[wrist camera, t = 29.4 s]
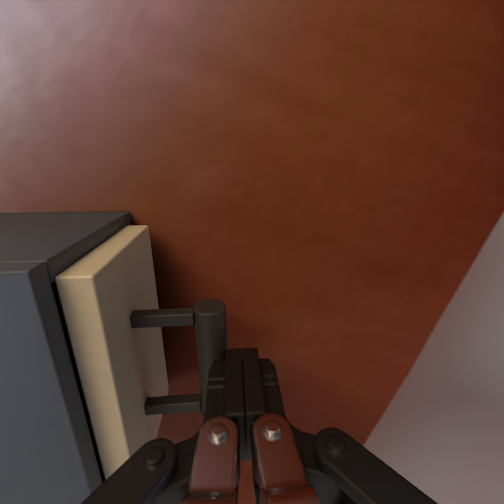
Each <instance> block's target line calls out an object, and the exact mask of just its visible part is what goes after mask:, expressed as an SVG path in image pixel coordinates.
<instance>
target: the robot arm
mask: <svg viewBox="0 0 504 504" xmlns="http://www.w3.org/2000/svg"><path fill="white" fill-rule="evenodd" d="M245 447H246V460H252V470H253V490H254V497H255V504H437V503H436V502H435V501H434V500H432V499H431V498H430V497H428V496H427V495H425V494H424V493H423V492H422V491H421V490H419V489H418V488H417V487H415V486H414V485H413V484H411V483H410V482H409V481H407V480H406V479H405V478H404V477H402V476H401V475H399V474H398V473H397V472H396V471H394V470H393V469H392V468H391V467H389V466H388V465H386V464H385V463H384V462H383V461H381V460H380V459H379V458H377V457H376V456H375V455H374V454H372V453H371V452H369V451H368V450H367V449H366V448H365V447H363V446H362V445H361V444H359V443H358V442H357V441H355V440H354V439H353V438H352V437H350V436H349V435H348V434H346V433H345V432H343V431H341V430H339V429H336V428H325V429H322V430H321V431H319V432H318V434H317V435H313V434H309V433H305V432H302V431H300V430H298V429H296V428H294V427H293V426H292V425H291V424H290V423H289V421H288V420H287V418H286V416H285V412H284V407H283V403H282V398H281V393H280V388H279V385H278V379H277V374H276V369H275V366H274V365H273V363H272V362H271V361H270V360H269V359H259V358H258V351H257V348H242V362H241V349H226V350H225V361H214V362H213V364H212V366H211V367H210V369H209V373H208V383H207V393H206V404H205V414H204V422H203V425H202V427H201V428H200V430H199V431H198V432H197V433H196V434H195V435H194V436H193V437H191V438H190V439H188V440H186V441H183V442H180V443H178V444H175V445H174V444H173V443H172V442H171V441H169V440H167V439H164V438H157V439H153V440H150V441H148V442H147V443H145V444H144V445H142V446H141V447H140V448H139V449H138V450H137V451H136V452H135V453H134V454H133V455H132V456H131V457H130V458H128V459H127V460H126V461H125V462H124V463H123V464H122V465H121V466H120V467H119V468H118V469H117V470H116V471H115V472H114V473H113V474H112V475H110V476H109V477H108V478H107V479H106V480H105V481H104V482H103V483H102V484H101V485H100V486H99V487H98V488H97V489H96V490H95V491H93V492H92V493H91V494H90V495H89V496H88V497H87V498H86V499H85V500H84V501H83V502H82V503H81V504H238V488H239V480H240V461H244V460H245Z"/></svg>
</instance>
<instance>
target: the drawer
mask: <svg viewBox="0 0 504 504" xmlns="http://www.w3.org/2000/svg"><path fill="white" fill-rule="evenodd" d="M51 286H52V290H53V294H54V298H55V301H56V305H57V309H58V313H59V317H60V321H61V325H62V328H63V332H64V336H65V340H66V344H67V348H68V352H69V356H70V359H71V363H72V367H73V371H74V375H75V379H76V383H77V386H78V390H79V394H80V398H81V402H82V406H83V410H84V413H85V417H86V421H87V425H88V429H89V433H90V437H91V441H92V444H93V448H94V452H95V456H96V460H97V457H98V455H99V456H100V460H101V464H102V468H103V472H104V476H105V480H106V479H107V478H108V477H109V476H110V475H112V474H113V473H114V472H115V471H116V470H117V469H118V468H119V467H120V466H121V465H122V464H123V463H124V462H125V461H126V460H127V459H128V458H130V457H131V456H132V455H133V454H134V453H135V452H136V451H137V450H138V449H139V448H140V447H141V446H142V445H144V444H145V443H147V442H148V441H150V440H153V439H157V435H158V430H159V426H160V422H161V418H162V414H171V413H186V412H200V411H201V409H202V414H203V415H204V414H205V404H206V393H207V383H208V373H209V369H210V367H211V366H212V364H213V362H214V361H225V350H226V349H227V329H226V306H225V304H224V302H222V301H221V300H217V299H206V300H202V301H200V302H198V303H197V304H196V305H195V306H194V308H173V309H159V306H158V298H157V290H156V282H155V274H154V266H153V258H152V250H151V242H150V234H149V227H148V225H135V226H126V227H124V228H123V229H121V230H120V231H119V232H117V233H116V234H114V235H113V236H112V237H110V238H109V239H108V240H106V241H105V242H103V243H102V244H101V245H99V246H98V247H96V248H95V249H94V250H92V251H91V252H89V253H88V254H87V255H85V256H84V257H83V258H81V259H80V260H78V261H77V262H76V263H74V264H73V265H71V266H70V267H69V268H67V269H66V270H64V271H63V272H62V273H60V274H59V275H58V276H56V277H55V281H54V282H53V283H51ZM194 323H195V331H196V344H197V357H198V370H199V383H200V394H189V395H174V396H167V394H168V390H169V387H168V379H167V371H166V363H165V355H164V347H163V339H162V331H161V327H172V326H193V325H194Z"/></svg>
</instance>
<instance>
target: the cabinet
mask: <svg viewBox="0 0 504 504" xmlns="http://www.w3.org/2000/svg"><path fill="white" fill-rule="evenodd" d="M126 226H132V225H131V218H130V212H129V211H117V212H51V213H0V504H81V503H82V502H83V501H84V500H85V499H86V498H87V497H88V496H89V495H90V494H91V493H92V492H93V491H95V490H96V489H97V488H98V487H99V486H100V485H101V484H102V483H103V482H104V481H105V476H104V472H103V468H102V464H101V460H100V456H99V455H98V457H97V460H96V456H95V452H94V448H93V444H92V441H91V437H90V433H89V429H88V425H87V421H86V417H85V413H84V410H83V406H82V402H81V398H80V394H79V390H78V386H77V383H76V379H75V375H74V371H73V367H72V363H71V359H70V356H69V352H68V348H67V344H66V340H65V336H64V332H63V328H62V325H61V321H60V317H59V313H58V309H57V305H56V301H55V298H54V294H53V290H52V286H51V283H53V282H54V281H55V277H56V276H58V275H59V274H60V273H62V272H63V271H64V270H66V269H67V268H69V267H70V266H71V265H73V264H74V263H76V262H77V261H78V260H80V259H81V258H83V257H84V256H85V255H87V254H88V253H89V252H91V251H92V250H94V249H95V248H96V247H98V246H99V245H101V244H102V243H103V242H105V241H106V240H108V239H109V238H110V237H112V236H113V235H114V234H116V233H117V232H119V231H120V230H121V229H123V228H124V227H126Z"/></svg>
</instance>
